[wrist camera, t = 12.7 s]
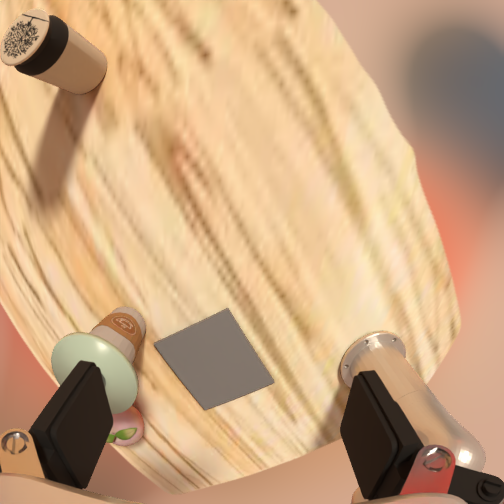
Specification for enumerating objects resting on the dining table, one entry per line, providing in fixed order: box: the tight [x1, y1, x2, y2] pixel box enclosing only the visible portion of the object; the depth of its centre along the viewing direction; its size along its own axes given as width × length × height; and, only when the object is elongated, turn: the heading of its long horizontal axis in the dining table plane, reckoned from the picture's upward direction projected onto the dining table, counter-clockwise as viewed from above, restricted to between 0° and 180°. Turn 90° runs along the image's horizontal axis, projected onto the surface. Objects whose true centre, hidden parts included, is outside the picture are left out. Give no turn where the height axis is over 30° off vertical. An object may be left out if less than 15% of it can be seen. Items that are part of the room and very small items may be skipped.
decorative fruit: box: [106, 406, 144, 446], centre depth 48 cm, size 9×8×10 cm
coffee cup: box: [90, 307, 146, 364], centre depth 41 cm, size 8×8×15 cm
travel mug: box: [0, 8, 107, 94], centre depth 30 cm, size 8×8×18 cm
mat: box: [154, 308, 274, 410], centre depth 51 cm, size 16×14×1 cm
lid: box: [51, 332, 139, 414], centre depth 31 cm, size 12×12×6 cm
